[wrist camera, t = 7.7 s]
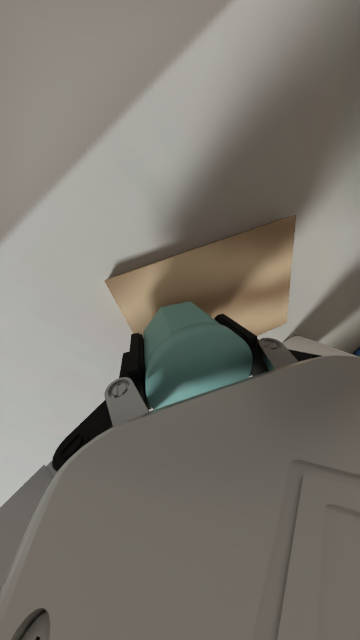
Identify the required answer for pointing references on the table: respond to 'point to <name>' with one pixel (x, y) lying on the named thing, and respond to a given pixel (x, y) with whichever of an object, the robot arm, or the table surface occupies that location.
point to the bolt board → (217, 280)
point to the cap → (190, 355)
